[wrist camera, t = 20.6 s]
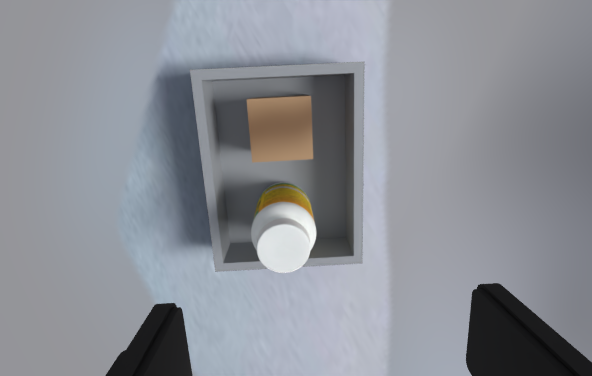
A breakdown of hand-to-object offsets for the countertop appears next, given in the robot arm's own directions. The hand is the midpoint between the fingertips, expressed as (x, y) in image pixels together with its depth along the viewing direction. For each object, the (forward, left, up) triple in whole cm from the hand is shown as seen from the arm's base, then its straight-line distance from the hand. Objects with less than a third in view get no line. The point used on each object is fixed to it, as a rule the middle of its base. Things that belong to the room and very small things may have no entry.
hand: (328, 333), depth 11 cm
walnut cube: (+2, +4, -23) cm, 24 cm away
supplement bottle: (-4, -1, -23) cm, 24 cm away
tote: (-1, +1, -24) cm, 24 cm away
